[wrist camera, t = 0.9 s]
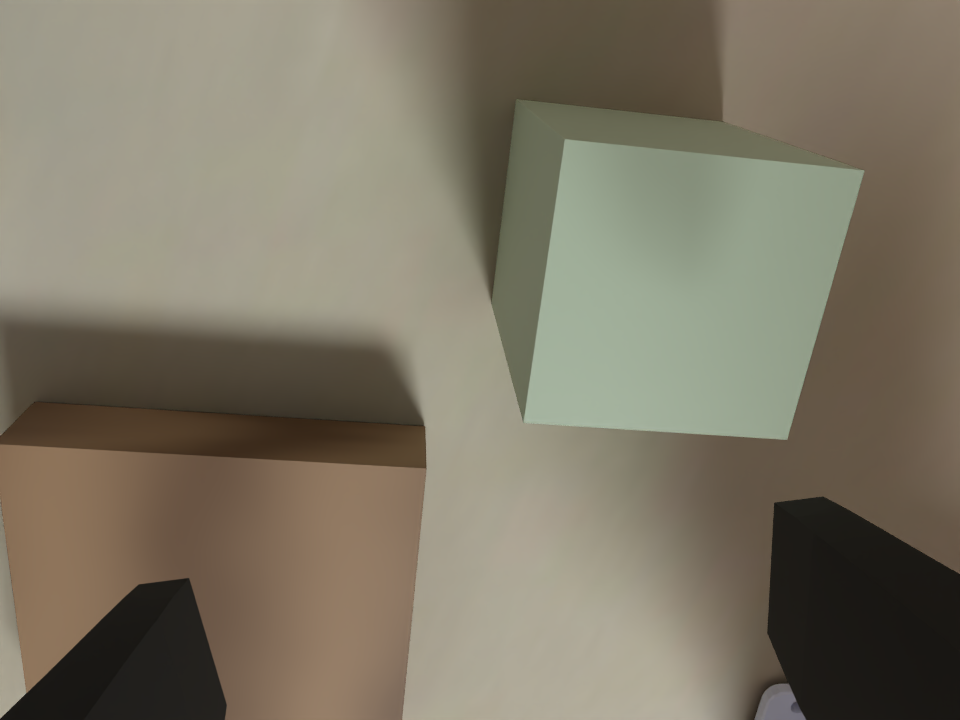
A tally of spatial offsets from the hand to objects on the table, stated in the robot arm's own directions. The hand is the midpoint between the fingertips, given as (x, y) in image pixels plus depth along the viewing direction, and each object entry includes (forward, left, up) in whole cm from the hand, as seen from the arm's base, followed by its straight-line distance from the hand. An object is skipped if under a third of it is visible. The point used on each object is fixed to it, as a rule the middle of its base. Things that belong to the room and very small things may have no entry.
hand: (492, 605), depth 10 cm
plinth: (+5, +7, -10) cm, 13 cm away
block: (-3, -3, -10) cm, 11 cm away
